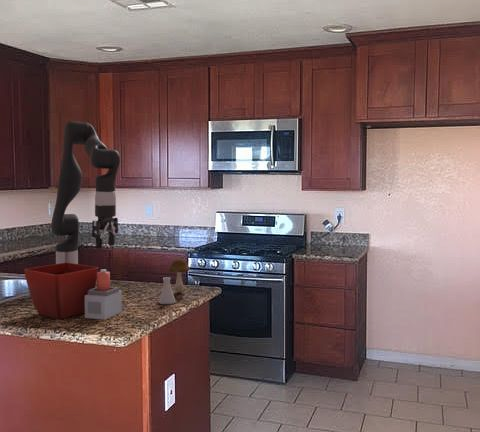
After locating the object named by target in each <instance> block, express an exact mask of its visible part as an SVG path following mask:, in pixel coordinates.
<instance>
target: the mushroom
mask: <svg viewBox="0 0 480 432" xmlns="http://www.w3.org/2000/svg"><path fill="white" fill-rule="evenodd" d="M190 269H191V268H190V266H189V265H188V263H187V261H186V260H185V259H183V258H176V259H174V260H173V261H172V262H171V264H170V265H169V266H168V271H169V272H172V273H176V281H175V285H174V292H175V293H177V294H182V293H183V292H184V291H185V290H184V289H185V288H184V283H183V279H182V278H183V277H182V273H187V272H189V271H190Z"/></svg>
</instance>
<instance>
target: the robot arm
mask: <svg viewBox="0 0 480 432" xmlns="http://www.w3.org/2000/svg"><path fill="white" fill-rule="evenodd" d="M74 145H79V146H80V145H82V146H84V151H85V153H86V154H87V155H88V156H89V158H90V163H91V166H92V167H93V168H95V169H101V170H102V169H105V170H106V169H108V170H107V172H106V173H104V174H100V175H97V176H96V178H95V196H94V216H95V217H97V220H92V222H91V226H92V227H91V237H92V238H94V239H95V248H96V249H98V250H101V249H103V236H104V234H106V232H107V235H108V238H107V239H108V240H107V241H108V242H107V243H108V245H109V246H111V247H112V246H115V242H116V241H115V238H116V235H117V234H118V233H119V219H118V217H116V215H117V214H116V213H117V212H116V211H117V204H116V203H117V200H116V199H117V198H116V197H117V196H116V178H117V174H118V170H119V167H120V163H121V155H120V153H119V151H118V150H116V149H108V148H107V146H106V145H105V144H104V143H103V142H102V141H101V140H100V138H99V136H98V134H97V132H96V130H95V128H94V126H93V125H92V124H90V123H89V122H83V121H76V120H75V121H73V120H69V121H67V122H66V124H65V126H64V132H63V145H62V146H63V147H62V158H61V164H60V171H59V175H58V183H57V193H56V200H55V205H54V210H53V213H52V217H51V218H52V219H51V224H50V226H51V232H52V234H53V235H54V236H67V237H66V238H65V239H64V240H62V241H61V242H58V243H57V244H56V245H55V264H59V263H74V264H79V251H78V249H79V236H80V235H79V233H80V223H79V222H80V221H79V218H78V215H76V214H75V213H66V210H67V208H68V206H69V205H70V203H71V202H72V201H73V200H74V199H75V197H76V196H77V195H78V193H80V190H81V189H82V183H83V182H82V180H83V171H82V168H81V167H80V165H79V164H78V162H77V160H76V157H75V155H74Z"/></svg>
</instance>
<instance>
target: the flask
mask: <svg viewBox="0 0 480 432" xmlns="http://www.w3.org/2000/svg"><path fill="white" fill-rule="evenodd" d="M162 280H163V284H162V290H161V293H160V296H159V298H158V302H157V303H158V304H161V305H172V304H176V298H175V296H174V292H173V290H172V287H171V277H170V276H169V277H167V276H166V277H163V278H162Z"/></svg>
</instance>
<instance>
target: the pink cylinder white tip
mask: <svg viewBox="0 0 480 432" xmlns="http://www.w3.org/2000/svg"><path fill="white" fill-rule="evenodd" d="M96 287H97V291H109V290H110V287H111V272H110V271H107V269H100V271H98V272H97V280H96Z"/></svg>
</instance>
